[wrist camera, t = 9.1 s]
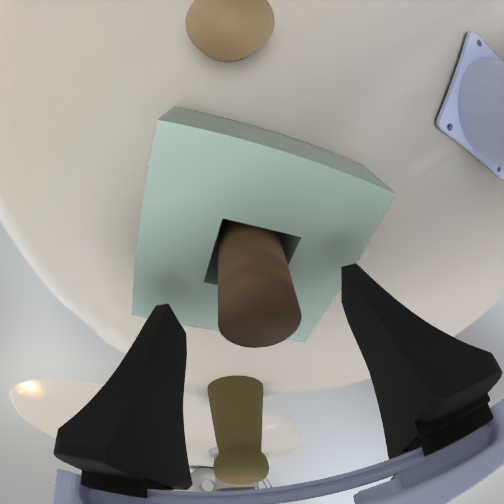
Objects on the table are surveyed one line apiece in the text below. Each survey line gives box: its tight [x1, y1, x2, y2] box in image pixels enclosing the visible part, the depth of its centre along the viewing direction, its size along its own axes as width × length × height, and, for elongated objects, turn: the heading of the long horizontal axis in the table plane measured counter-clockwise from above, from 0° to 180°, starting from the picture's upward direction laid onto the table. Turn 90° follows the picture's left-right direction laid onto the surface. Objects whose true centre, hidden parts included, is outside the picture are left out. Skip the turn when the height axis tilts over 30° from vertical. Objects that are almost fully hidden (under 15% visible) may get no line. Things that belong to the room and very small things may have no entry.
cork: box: [208, 376, 269, 485], centre depth 25 cm, size 6×6×11 cm
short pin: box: [186, 0, 274, 62], centre depth 10 cm, size 3×3×4 cm
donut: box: [188, 467, 221, 492], centre depth 50 cm, size 10×3×10 cm, turn 61°
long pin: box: [218, 218, 302, 348], centre depth 14 cm, size 3×3×8 cm
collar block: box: [132, 107, 395, 342], centre depth 16 cm, size 11×11×4 cm
